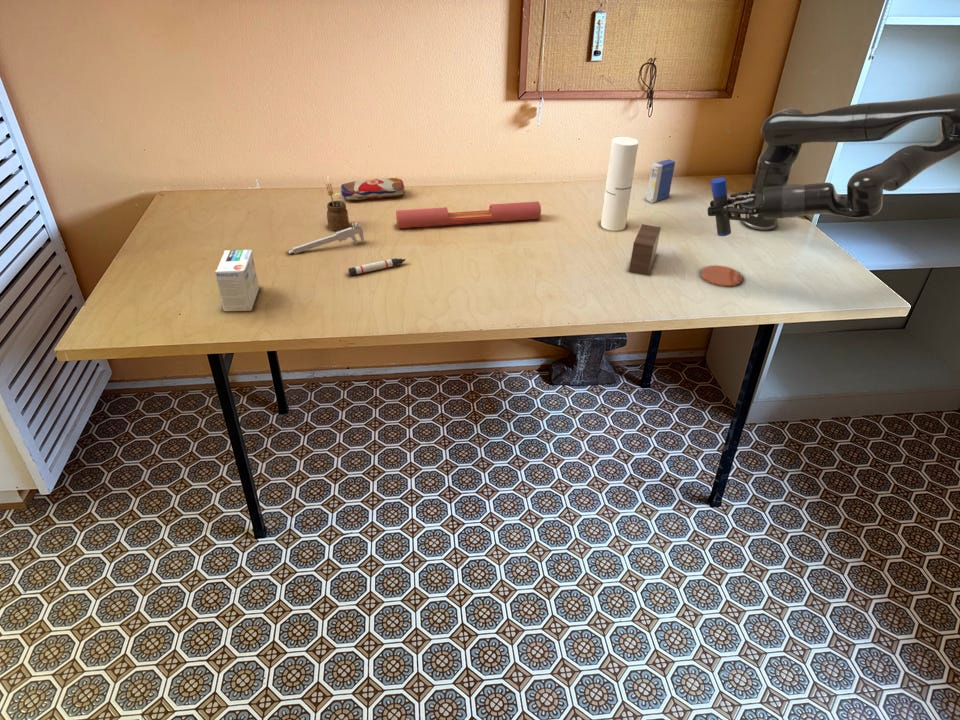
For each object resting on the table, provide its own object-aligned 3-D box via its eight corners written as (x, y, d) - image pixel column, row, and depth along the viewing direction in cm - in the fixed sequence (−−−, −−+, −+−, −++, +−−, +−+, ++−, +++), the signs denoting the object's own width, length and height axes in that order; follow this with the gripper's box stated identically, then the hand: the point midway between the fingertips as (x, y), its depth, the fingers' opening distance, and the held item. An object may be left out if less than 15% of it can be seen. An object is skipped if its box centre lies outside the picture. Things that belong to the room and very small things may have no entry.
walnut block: (637, 251, 193) (642, 223, 188) (655, 255, 191) (660, 227, 186) (629, 271, 184) (633, 242, 179) (648, 275, 182) (653, 246, 177)
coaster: (703, 264, 187) (704, 262, 187) (742, 271, 185) (743, 269, 184) (699, 281, 180) (699, 279, 179) (739, 289, 177) (740, 287, 177)
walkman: (662, 194, 225) (668, 157, 218) (668, 197, 224) (675, 160, 216) (645, 200, 221) (651, 162, 214) (652, 202, 220) (658, 165, 213)
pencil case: (402, 204, 215) (401, 189, 212) (338, 203, 215) (336, 187, 212) (405, 190, 224) (405, 175, 221) (344, 189, 224) (342, 173, 221)
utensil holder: (335, 233, 198) (331, 193, 191) (323, 225, 202) (318, 186, 195) (353, 227, 201) (349, 187, 194) (341, 220, 205) (337, 180, 198)
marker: (351, 277, 178) (350, 270, 177) (348, 273, 180) (347, 266, 178) (407, 264, 184) (406, 258, 183) (404, 261, 186) (403, 254, 184)
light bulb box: (232, 288, 172) (223, 249, 166) (260, 288, 173) (252, 248, 167) (223, 312, 164) (213, 271, 157) (252, 311, 164) (244, 270, 158)
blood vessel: (536, 214, 211) (537, 198, 208) (540, 221, 207) (541, 205, 204) (396, 223, 204) (395, 207, 201) (398, 231, 200) (397, 215, 197)
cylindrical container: (624, 231, 203) (638, 146, 188) (600, 229, 204) (611, 143, 189) (625, 221, 208) (638, 137, 194) (601, 219, 209) (612, 135, 195)
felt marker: (686, 207, 177) (718, 170, 169) (725, 236, 178) (759, 200, 169) (684, 213, 175) (716, 176, 167) (723, 242, 175) (758, 206, 167)
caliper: (363, 241, 194) (361, 220, 191) (364, 243, 194) (362, 222, 190) (288, 253, 188) (285, 231, 184) (289, 255, 187) (285, 233, 184)
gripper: (783, 229, 162) (705, 234, 170) (788, 204, 172) (715, 210, 180) (781, 198, 158) (702, 206, 167) (787, 175, 168) (712, 182, 177)
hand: (709, 208), depth 173 cm, fingers closed on felt marker, 3 cm apart
